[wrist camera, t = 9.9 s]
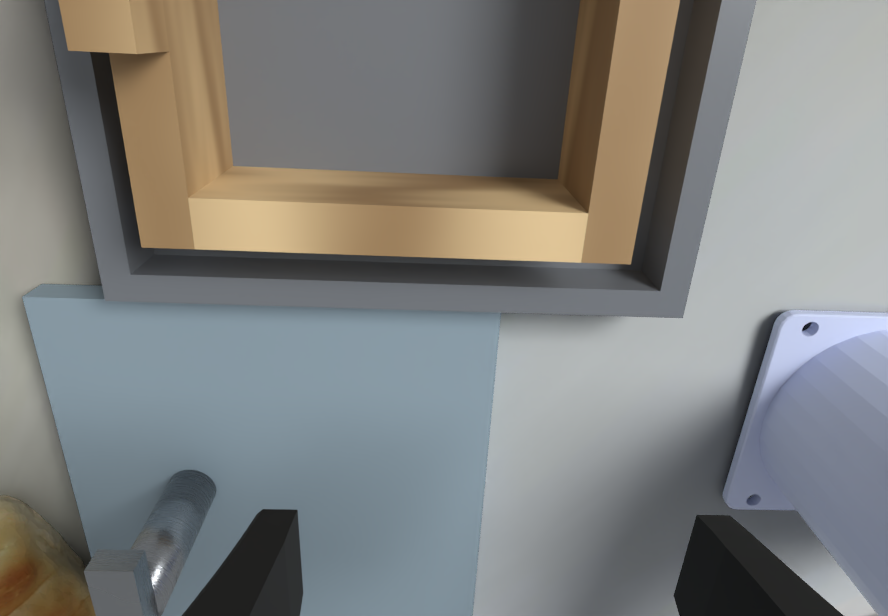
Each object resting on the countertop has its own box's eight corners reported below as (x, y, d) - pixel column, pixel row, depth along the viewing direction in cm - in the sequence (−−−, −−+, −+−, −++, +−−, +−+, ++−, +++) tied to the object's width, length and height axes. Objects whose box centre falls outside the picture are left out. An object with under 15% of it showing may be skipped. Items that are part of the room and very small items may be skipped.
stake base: (497, 297, 19) (501, 311, 18) (469, 608, 25) (470, 630, 24) (42, 283, 19) (22, 296, 18) (121, 606, 24) (109, 629, 23)
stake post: (209, 441, 20) (141, 571, 15) (222, 532, 22) (164, 677, 17) (160, 440, 20) (75, 571, 15) (176, 532, 21) (105, 677, 17)
